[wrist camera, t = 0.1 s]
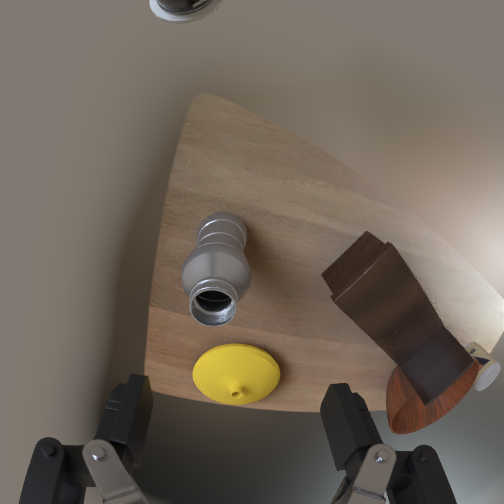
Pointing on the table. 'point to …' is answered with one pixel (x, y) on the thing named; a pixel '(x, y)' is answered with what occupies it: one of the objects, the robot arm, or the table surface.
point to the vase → (236, 374)
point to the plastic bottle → (217, 270)
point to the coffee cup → (483, 366)
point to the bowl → (412, 408)
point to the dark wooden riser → (397, 315)
